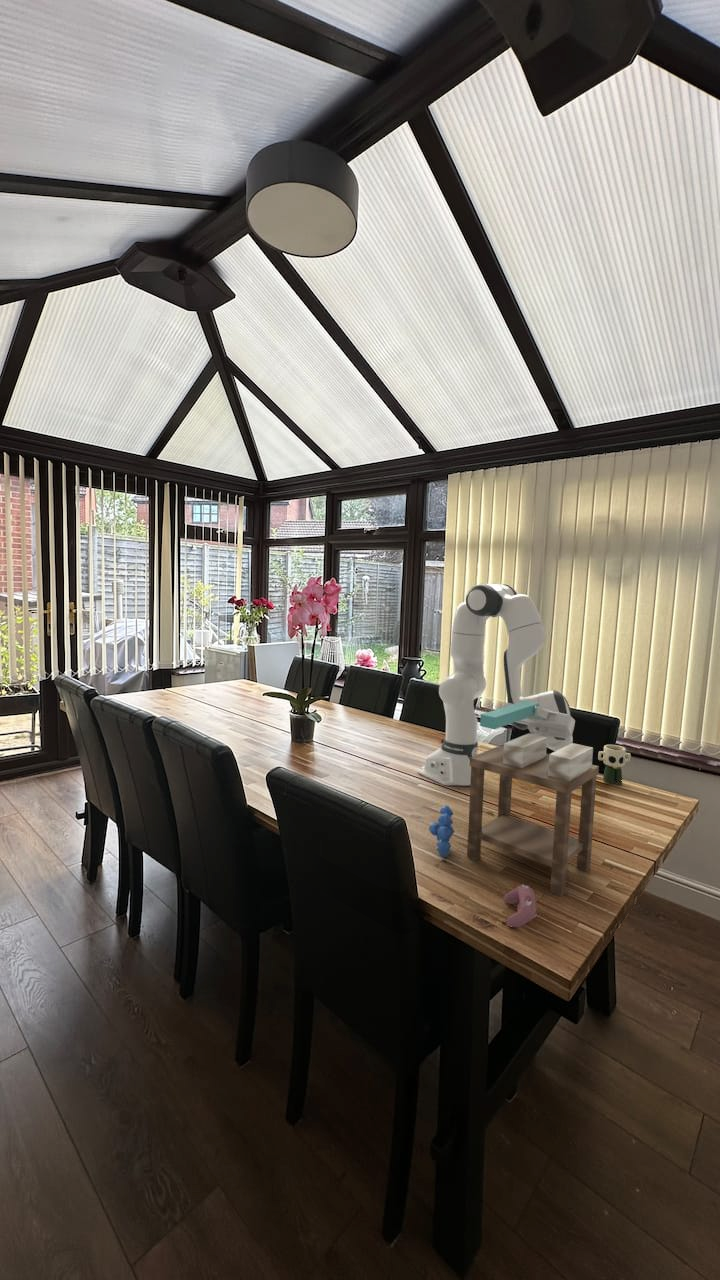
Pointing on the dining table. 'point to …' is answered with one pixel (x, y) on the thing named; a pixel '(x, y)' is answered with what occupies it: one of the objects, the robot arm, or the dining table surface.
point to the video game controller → (521, 905)
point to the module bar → (507, 715)
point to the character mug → (613, 762)
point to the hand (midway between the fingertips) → (526, 707)
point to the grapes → (443, 830)
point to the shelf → (545, 770)
